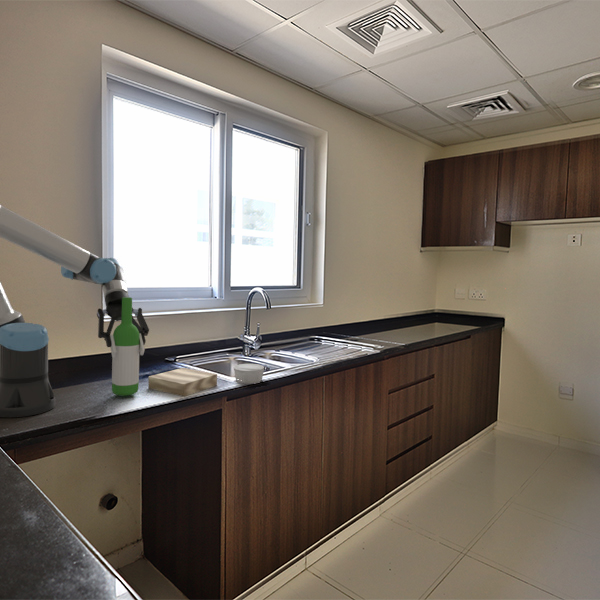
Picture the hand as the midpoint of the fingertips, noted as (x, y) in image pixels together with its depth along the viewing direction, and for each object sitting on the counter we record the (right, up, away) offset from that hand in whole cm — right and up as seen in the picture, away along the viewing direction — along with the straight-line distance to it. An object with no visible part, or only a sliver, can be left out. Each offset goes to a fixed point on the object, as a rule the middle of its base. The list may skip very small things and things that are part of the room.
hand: (128, 353), depth 133 cm
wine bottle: (-3, -13, +4) cm, 14 cm away
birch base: (+12, -13, +16) cm, 24 cm away
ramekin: (+33, -14, +27) cm, 45 cm away
